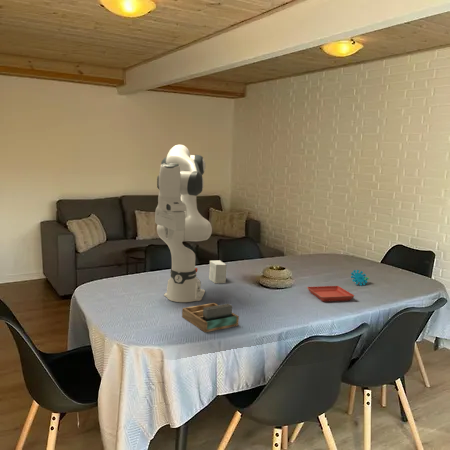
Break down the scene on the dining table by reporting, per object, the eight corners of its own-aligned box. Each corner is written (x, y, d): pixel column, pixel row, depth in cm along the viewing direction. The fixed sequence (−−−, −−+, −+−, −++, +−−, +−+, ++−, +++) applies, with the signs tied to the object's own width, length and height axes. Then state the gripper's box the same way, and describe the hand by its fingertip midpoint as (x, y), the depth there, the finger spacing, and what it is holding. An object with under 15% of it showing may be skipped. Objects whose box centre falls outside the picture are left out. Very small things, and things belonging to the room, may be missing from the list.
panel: (206, 326, 185) (207, 310, 184) (202, 324, 187) (203, 307, 186) (231, 321, 191) (232, 305, 190) (227, 319, 194) (228, 303, 193)
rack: (204, 332, 182) (205, 322, 182) (182, 317, 198) (182, 308, 197) (238, 325, 191) (238, 316, 190) (214, 311, 207) (214, 302, 206)
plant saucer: (306, 292, 242) (306, 286, 242) (337, 291, 247) (338, 285, 246) (321, 303, 225) (321, 297, 224) (354, 302, 229) (355, 295, 229)
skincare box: (226, 283, 252) (227, 264, 250) (215, 283, 250) (215, 264, 248) (219, 278, 262) (220, 259, 260) (208, 278, 259) (209, 260, 258)
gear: (353, 283, 255) (350, 267, 261) (348, 288, 260) (345, 273, 266) (371, 286, 257) (368, 270, 263) (366, 291, 262) (363, 275, 268)
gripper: (151, 201, 190) (150, 234, 193) (173, 207, 174) (172, 243, 176) (165, 201, 194) (164, 233, 196) (188, 207, 177) (187, 242, 179)
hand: (168, 238), depth 186 cm, fingers closed
